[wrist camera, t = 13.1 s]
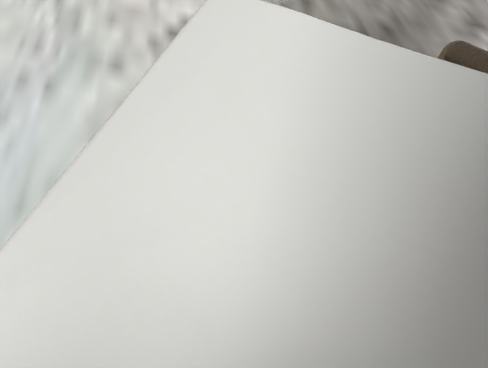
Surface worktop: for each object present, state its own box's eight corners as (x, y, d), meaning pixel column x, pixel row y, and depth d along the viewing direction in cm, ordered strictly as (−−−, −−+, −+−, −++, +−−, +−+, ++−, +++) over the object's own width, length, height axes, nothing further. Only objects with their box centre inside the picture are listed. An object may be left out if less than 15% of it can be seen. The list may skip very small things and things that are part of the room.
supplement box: (227, 218, 21) (213, -31, 8) (370, 283, 20) (644, 101, 6) (144, 371, 17) (-141, 368, 4) (315, 468, 16) (730, 975, 3)
